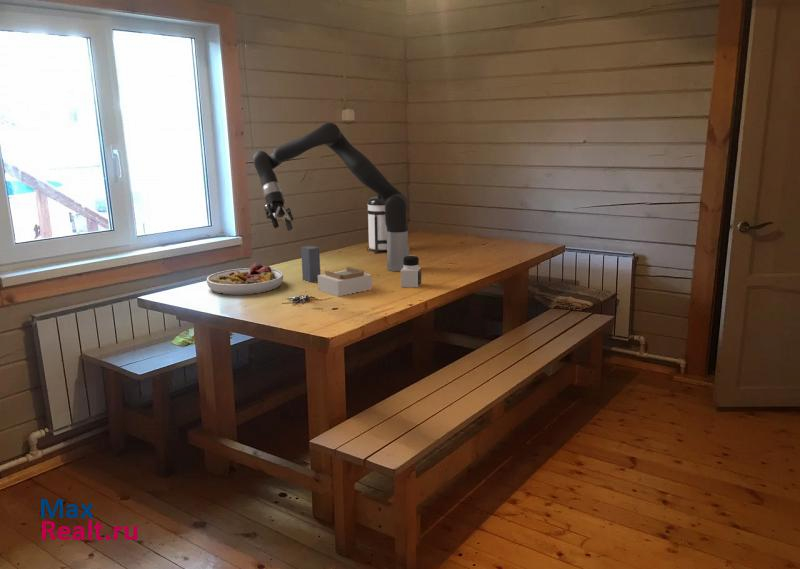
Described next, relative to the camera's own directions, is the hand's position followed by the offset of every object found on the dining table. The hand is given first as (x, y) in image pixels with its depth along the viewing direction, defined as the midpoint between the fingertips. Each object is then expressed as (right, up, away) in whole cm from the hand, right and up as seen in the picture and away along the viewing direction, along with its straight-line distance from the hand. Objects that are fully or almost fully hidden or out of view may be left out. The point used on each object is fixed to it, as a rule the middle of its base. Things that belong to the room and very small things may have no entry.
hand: (283, 228), depth 284 cm
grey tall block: (+12, -22, -3) cm, 25 cm away
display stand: (+28, -26, -20) cm, 42 cm away
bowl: (-13, -25, -13) cm, 31 cm away
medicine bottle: (+54, -24, -14) cm, 61 cm away
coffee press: (+40, -7, +57) cm, 70 cm away
